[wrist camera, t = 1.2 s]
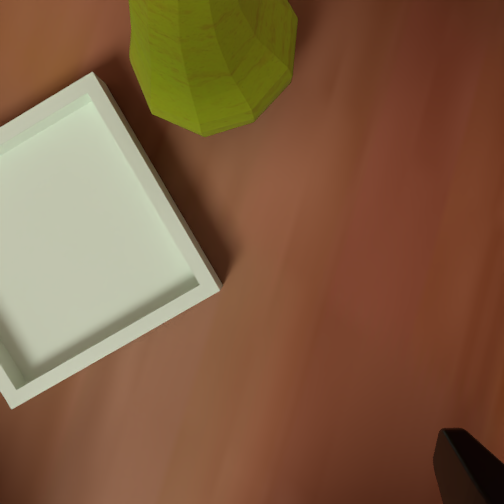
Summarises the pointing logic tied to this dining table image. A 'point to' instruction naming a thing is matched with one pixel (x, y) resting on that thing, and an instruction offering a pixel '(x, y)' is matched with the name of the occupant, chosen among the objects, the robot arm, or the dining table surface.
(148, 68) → the fruit
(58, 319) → the tray
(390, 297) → the dining table surface
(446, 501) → the robot arm
